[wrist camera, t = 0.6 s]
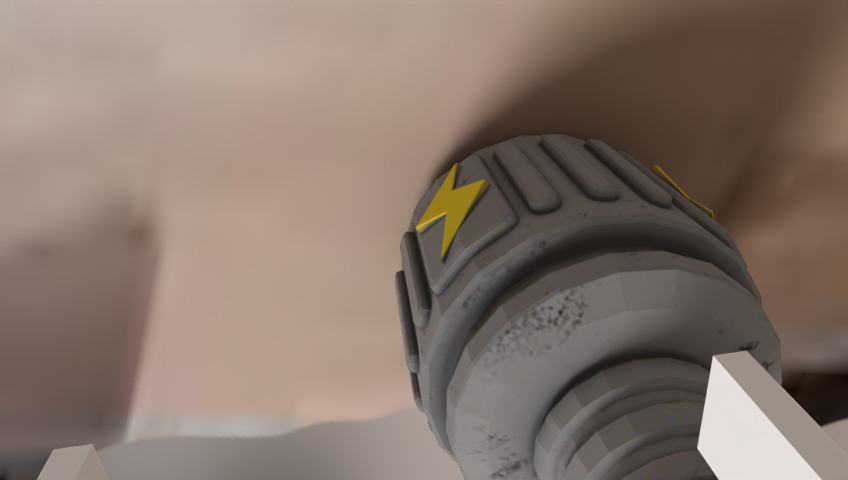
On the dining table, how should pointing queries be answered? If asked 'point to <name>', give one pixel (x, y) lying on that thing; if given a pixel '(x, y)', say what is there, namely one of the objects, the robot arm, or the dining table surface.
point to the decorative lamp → (571, 314)
